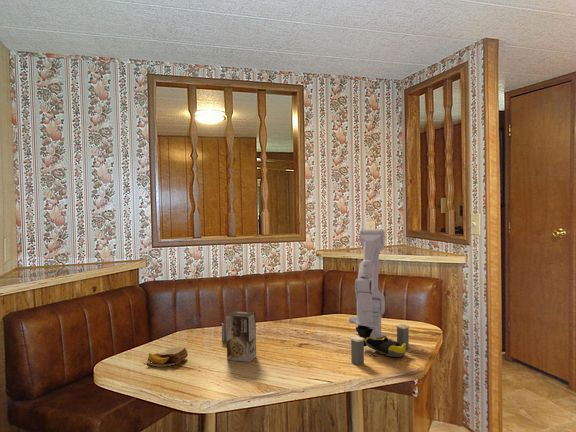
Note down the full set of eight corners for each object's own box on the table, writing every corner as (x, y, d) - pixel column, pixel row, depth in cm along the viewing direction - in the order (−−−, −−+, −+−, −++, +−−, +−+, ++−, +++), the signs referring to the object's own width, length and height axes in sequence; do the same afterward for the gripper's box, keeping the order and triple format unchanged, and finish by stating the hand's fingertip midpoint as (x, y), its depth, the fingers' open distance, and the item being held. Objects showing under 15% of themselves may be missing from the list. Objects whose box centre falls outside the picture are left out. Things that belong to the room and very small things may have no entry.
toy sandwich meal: (162, 354, 161) (162, 341, 161) (193, 358, 156) (193, 345, 156) (139, 365, 150) (139, 352, 150) (171, 371, 145) (171, 357, 144)
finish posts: (350, 362, 149) (350, 338, 149) (402, 346, 166) (402, 324, 165) (357, 365, 147) (357, 340, 146) (409, 348, 163) (409, 326, 163)
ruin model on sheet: (248, 337, 181) (247, 314, 180) (250, 339, 178) (250, 316, 178) (221, 341, 176) (221, 317, 176) (223, 343, 173) (223, 319, 173)
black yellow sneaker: (393, 363, 148) (412, 356, 154) (392, 348, 148) (412, 341, 153) (362, 351, 161) (381, 345, 166) (362, 337, 160) (381, 331, 166)
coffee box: (256, 356, 157) (256, 312, 156) (249, 362, 151) (249, 316, 150) (234, 353, 160) (233, 310, 159) (226, 359, 154) (225, 314, 153)
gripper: (343, 307, 166) (343, 343, 166) (371, 315, 154) (371, 353, 154) (356, 305, 170) (356, 339, 170) (384, 312, 158) (385, 349, 158)
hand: (364, 345), depth 163 cm, fingers closed
